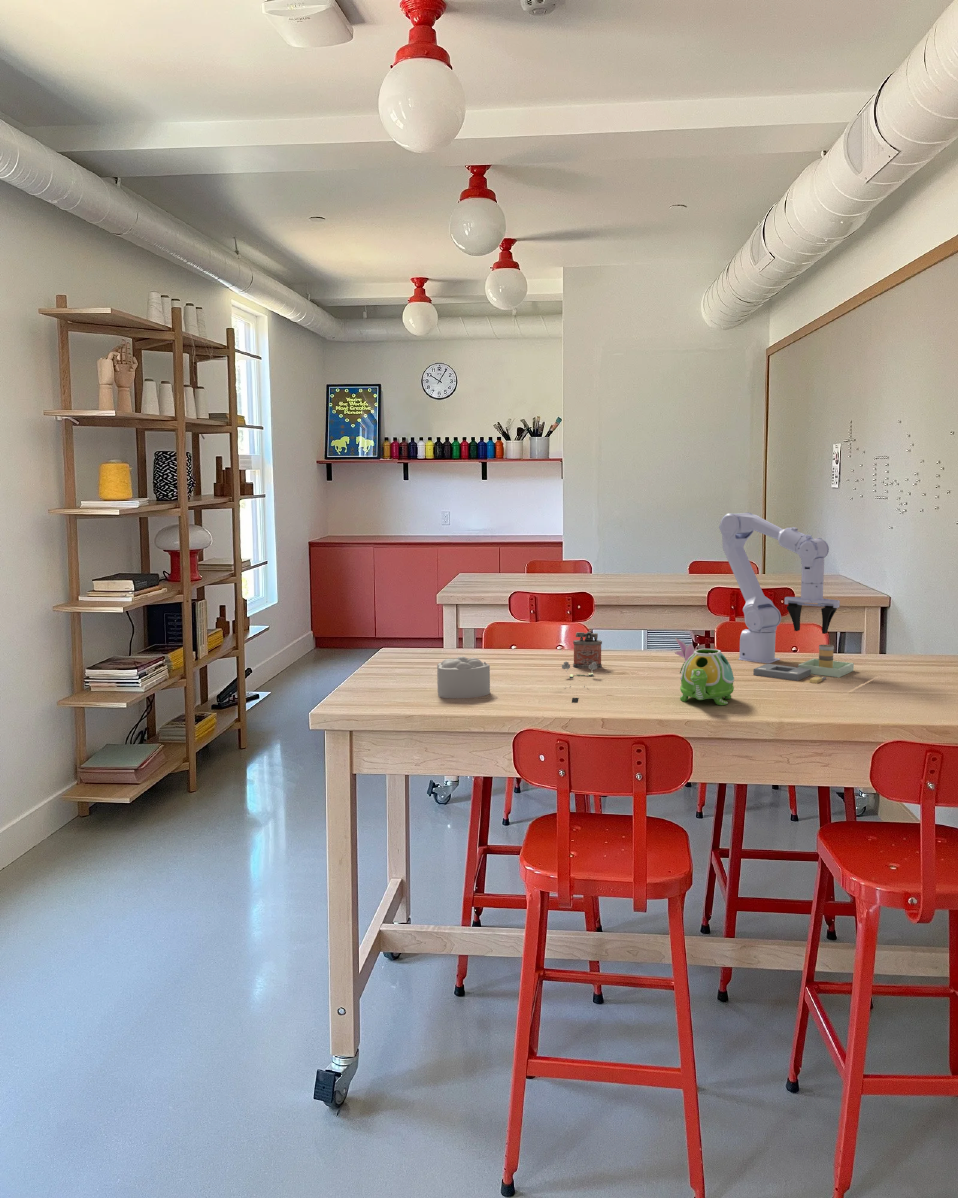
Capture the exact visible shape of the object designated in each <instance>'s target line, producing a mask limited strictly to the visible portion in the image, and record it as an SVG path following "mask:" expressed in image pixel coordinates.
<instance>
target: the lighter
mask: <svg viewBox="0 0 958 1198" xmlns="http://www.w3.org/2000/svg"><path fill="white" fill-rule="evenodd" d="M575 637H576V638H579V639H574V640H573V641H572V643H573V663H572V666H573V668H575V669H577V668H578V669H590V668H589V665H591V664H592V663H593V662H596V664H597V669H600V668H603V666H602V665H603V663H602V645H603V640H600V639H598V633H597V632H591V631H586V632H581V631H580V632H579V631H578V632H577V631H576V633H575Z"/></svg>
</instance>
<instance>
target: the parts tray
mask: <svg viewBox="0 0 958 1198" xmlns="http://www.w3.org/2000/svg"><path fill="white" fill-rule="evenodd" d="M854 665H855V663H854V662H848V661H847V662H846V661H839V660H838V661H837V660H833V668H826V667H819V658H814V657H813V658H812V659H811V658H810V659H809V660H805V661H804V662H801V663H798V666H797V667H798V668H806V669H811V675H817V676H821V677H831V678H838V679H840V678H841V677H843V676H846V675H848V674H849V673H852V672H854V669H855V668H854V667H855V666H854Z"/></svg>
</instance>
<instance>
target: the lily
mask: <svg viewBox="0 0 958 1198" xmlns="http://www.w3.org/2000/svg"><path fill="white" fill-rule="evenodd" d="M674 639H675V641H676V642H677V644H678V646H679V648H680V650H677V651H674V654H676V655H678V656H680V657H682V658H683V659H684V662H683V664H682V666H681V668H680V671H679V674H682V670H683V667H684V665H685V663H686V661H687V660H688V658H689V657H690V656H691V655H692V654H694V651H695V649H696V648H694V645H693V644H691V643H689V644H688V645H687V644H686V643H685V642H683V641H682V640H680V639H679V638H677V637H675V638H674Z"/></svg>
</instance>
